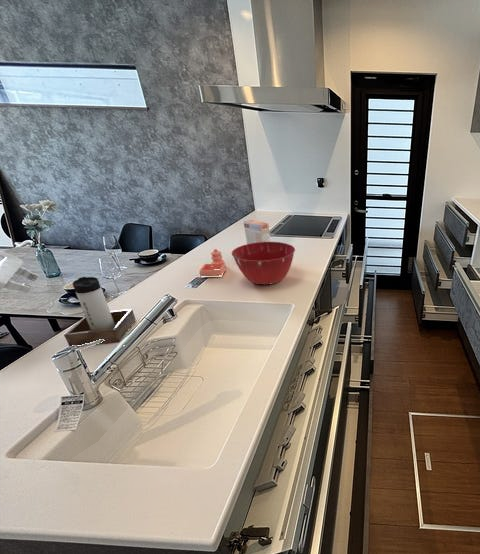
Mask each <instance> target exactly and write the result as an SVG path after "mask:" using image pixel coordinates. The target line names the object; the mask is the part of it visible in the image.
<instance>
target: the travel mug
mask: <svg viewBox="0 0 480 554" xmlns="http://www.w3.org/2000/svg"><path fill="white" fill-rule="evenodd" d="M72 287H73V289H74V291H75V295H76V297H77V299H78V302H79V305H80V307H81V309H82V311H83V313H84V316H86V319H87V321H88V324H89V326H90V329H91V331H95V330H105V329H113V328H114V327H115V324H114V321H113V318H112V315H111V313H110V311H111V310H110V308H109V305H108V302H107V299H106V296H105V294H104V291H103V288H102V286H101V284H100V281H99V278H97V277H95V276H82V277H78V278H77V279H76V280H74V281H73V282H72Z"/></svg>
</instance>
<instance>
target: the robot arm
mask: <svg viewBox="0 0 480 554" xmlns="http://www.w3.org/2000/svg"><path fill="white" fill-rule="evenodd" d="M24 263H25V262H24V261H23V260H22V259H20V258H19V257H17V256H15V255H12V254H11V253H9V252H6V251H3V250H1V249H0V292H1V291H2V290H3V289H6V290H9V291H10V290H11V291H19V292H22V293H25V294H26V293H29V291H31V289H32V285H29V284H27V283H19V282H16V281H15V280H13V279H12V278H13V276H14V275H15V274H16V275H19V276H22V277H25V278H26V279H27V280H29V281H32V282H35V281H36V280H37V279H38V278H39V274H37V273H35V272H32V271H31V270H29V269H27V267H24V266H22V265H24Z"/></svg>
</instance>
